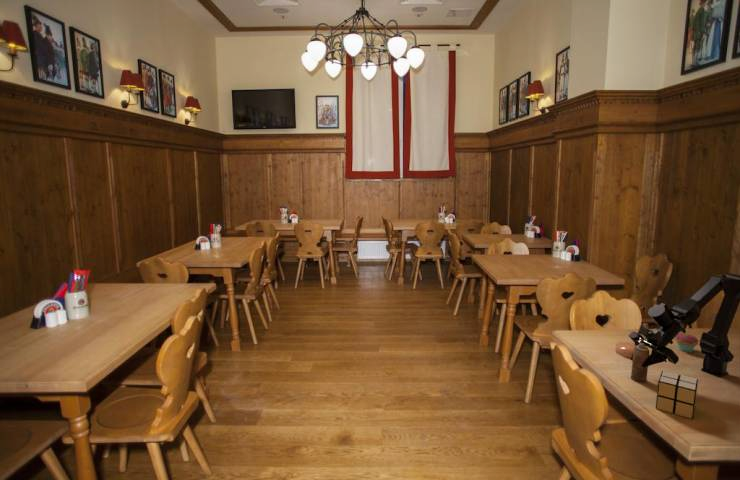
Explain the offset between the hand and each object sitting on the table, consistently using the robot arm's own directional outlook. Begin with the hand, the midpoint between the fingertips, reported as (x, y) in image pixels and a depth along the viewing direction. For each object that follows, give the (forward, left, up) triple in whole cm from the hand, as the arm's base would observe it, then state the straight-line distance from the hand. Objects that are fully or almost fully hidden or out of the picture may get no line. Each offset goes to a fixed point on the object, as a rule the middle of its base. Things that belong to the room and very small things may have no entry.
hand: (636, 363), depth 163 cm
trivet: (+17, -21, -7) cm, 28 cm away
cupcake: (+10, -46, -7) cm, 47 cm away
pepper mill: (0, -1, -7) cm, 7 cm away
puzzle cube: (-18, +6, -7) cm, 21 cm away
